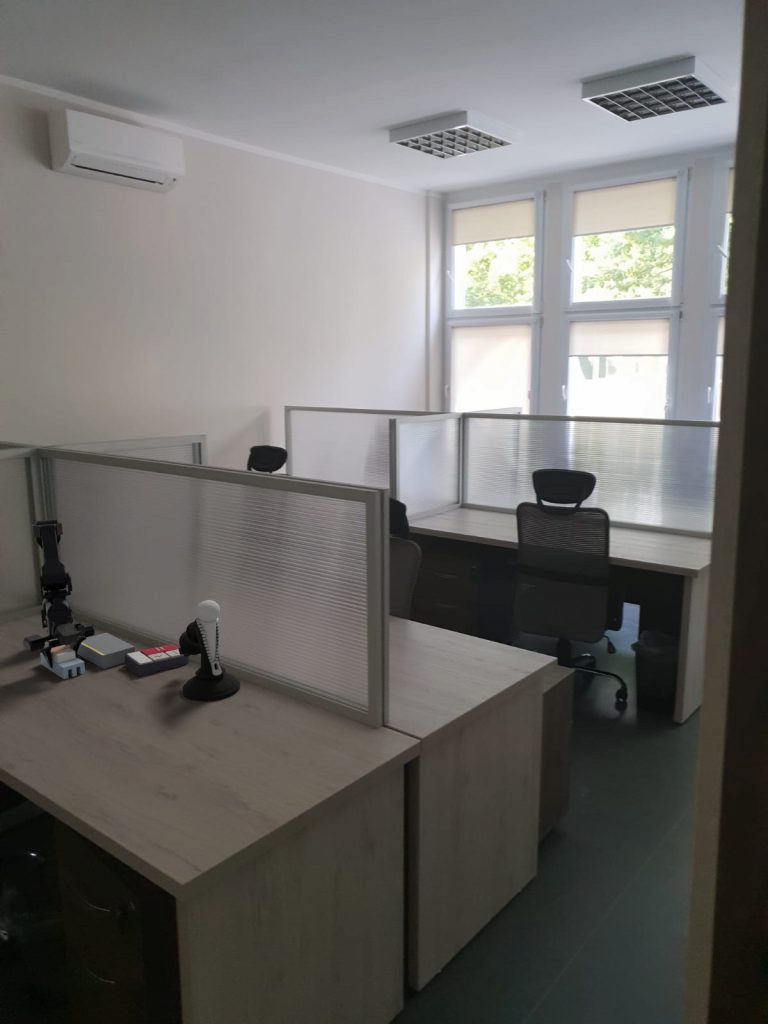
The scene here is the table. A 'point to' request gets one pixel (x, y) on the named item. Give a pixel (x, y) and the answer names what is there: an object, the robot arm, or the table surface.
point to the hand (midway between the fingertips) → (62, 664)
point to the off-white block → (63, 655)
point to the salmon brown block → (58, 649)
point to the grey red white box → (155, 660)
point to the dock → (105, 650)
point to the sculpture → (206, 657)
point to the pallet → (65, 667)
